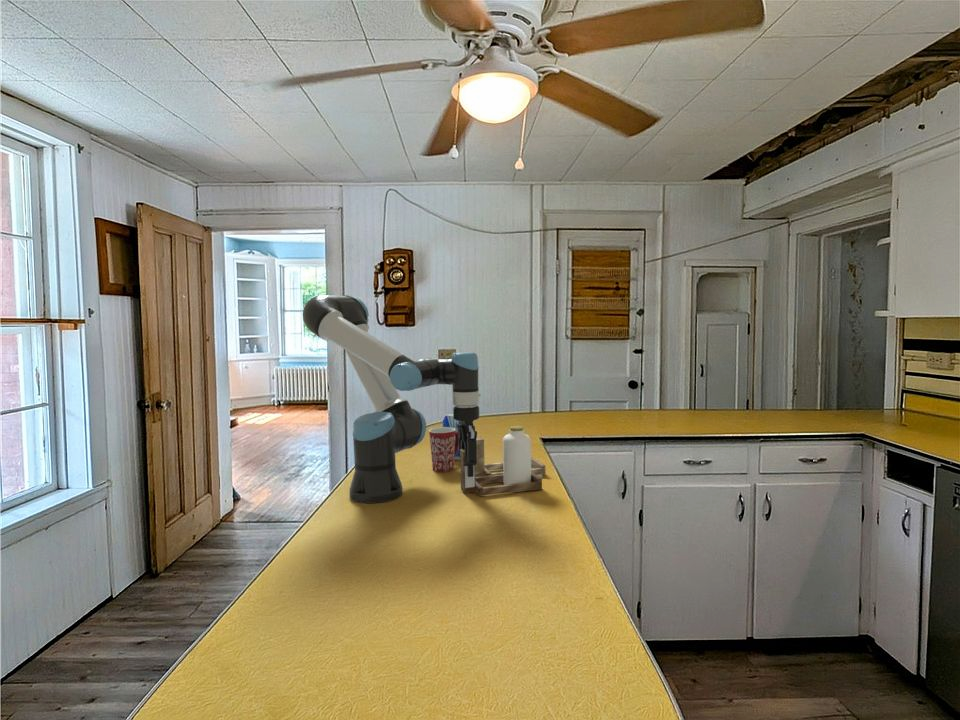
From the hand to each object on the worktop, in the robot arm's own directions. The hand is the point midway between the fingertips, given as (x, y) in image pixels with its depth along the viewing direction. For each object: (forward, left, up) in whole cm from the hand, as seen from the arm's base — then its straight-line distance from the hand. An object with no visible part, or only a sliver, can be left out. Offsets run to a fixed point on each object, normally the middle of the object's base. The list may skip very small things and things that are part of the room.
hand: (468, 484), depth 166 cm
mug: (0, +28, -2) cm, 28 cm away
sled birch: (+16, +14, -2) cm, 21 cm away
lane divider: (+18, +7, -2) cm, 19 cm away
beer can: (+6, +41, -2) cm, 42 cm away
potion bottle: (+15, 0, -2) cm, 16 cm away
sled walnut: (+10, 0, -2) cm, 10 cm away
